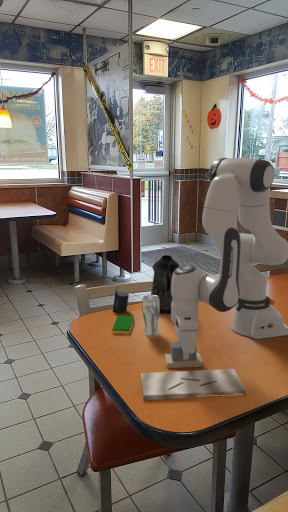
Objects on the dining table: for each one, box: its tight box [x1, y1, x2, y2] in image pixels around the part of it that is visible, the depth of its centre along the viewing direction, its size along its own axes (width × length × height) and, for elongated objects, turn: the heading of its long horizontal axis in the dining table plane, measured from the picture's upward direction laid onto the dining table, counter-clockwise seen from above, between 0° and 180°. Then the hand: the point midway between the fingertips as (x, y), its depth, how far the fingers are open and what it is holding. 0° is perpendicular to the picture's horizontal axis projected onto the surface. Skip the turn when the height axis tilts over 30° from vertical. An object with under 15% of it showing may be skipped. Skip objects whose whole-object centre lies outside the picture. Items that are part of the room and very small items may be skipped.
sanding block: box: [164, 341, 204, 369], centre depth 130 cm, size 12×6×7 cm, turn 94°
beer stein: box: [150, 254, 181, 315], centre depth 176 cm, size 16×19×25 cm
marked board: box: [140, 368, 247, 401], centre depth 117 cm, size 30×12×2 cm, turn 94°
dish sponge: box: [111, 315, 135, 335], centre depth 160 cm, size 7×14×2 cm, turn 174°
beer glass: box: [141, 294, 161, 337], centre depth 152 cm, size 7×7×15 cm
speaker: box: [112, 286, 130, 314], centre depth 176 cm, size 8×6×10 cm
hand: (183, 352), depth 130 cm, fingers open, 6 cm apart
